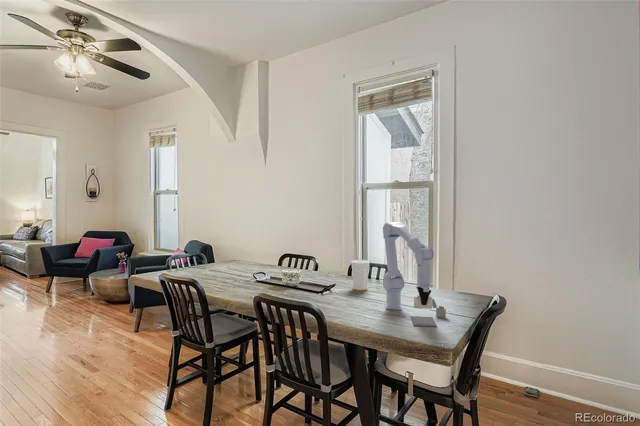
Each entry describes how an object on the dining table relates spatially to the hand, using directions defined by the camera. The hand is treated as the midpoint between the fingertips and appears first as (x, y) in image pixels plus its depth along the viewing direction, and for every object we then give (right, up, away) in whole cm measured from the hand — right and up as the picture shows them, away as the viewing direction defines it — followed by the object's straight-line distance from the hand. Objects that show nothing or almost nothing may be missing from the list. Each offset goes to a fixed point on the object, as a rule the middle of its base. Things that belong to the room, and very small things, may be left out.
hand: (423, 303), depth 157 cm
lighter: (+9, -8, +8) cm, 15 cm away
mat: (0, -8, 0) cm, 8 cm away
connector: (0, -2, 0) cm, 2 cm away
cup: (-22, -7, +59) cm, 63 cm away
